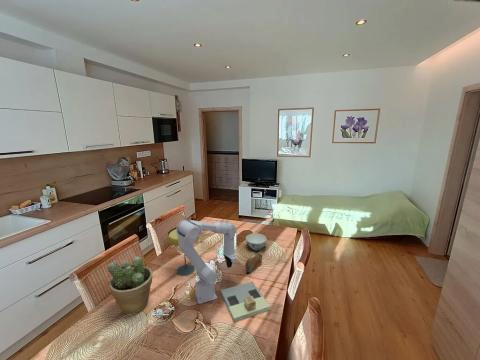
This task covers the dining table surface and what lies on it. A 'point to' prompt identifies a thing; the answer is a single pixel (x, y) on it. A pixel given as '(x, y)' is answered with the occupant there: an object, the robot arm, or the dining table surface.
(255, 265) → the brown flat slab
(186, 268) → the cocktail glass
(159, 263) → the dining table surface
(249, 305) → the beech block
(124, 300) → the potted plant
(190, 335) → the dining table surface
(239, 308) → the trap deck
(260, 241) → the chinaware
